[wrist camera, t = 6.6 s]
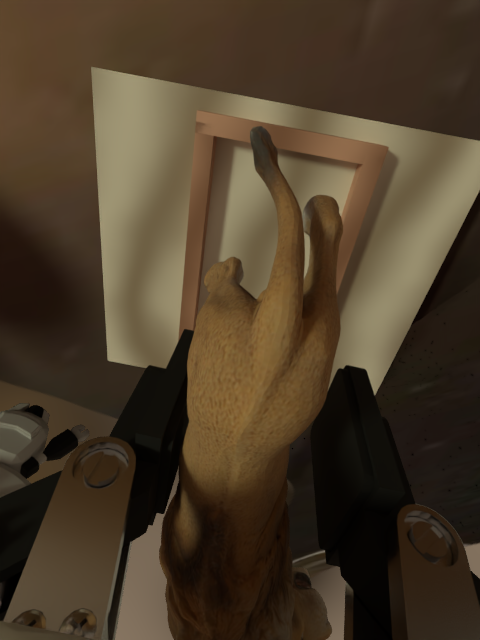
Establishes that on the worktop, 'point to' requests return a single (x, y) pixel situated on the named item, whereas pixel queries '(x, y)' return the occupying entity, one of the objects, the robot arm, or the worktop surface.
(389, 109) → the worktop surface
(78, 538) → the robot arm
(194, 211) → the base plate
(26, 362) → the worktop surface
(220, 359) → the lion figurine
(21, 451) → the robot toy
